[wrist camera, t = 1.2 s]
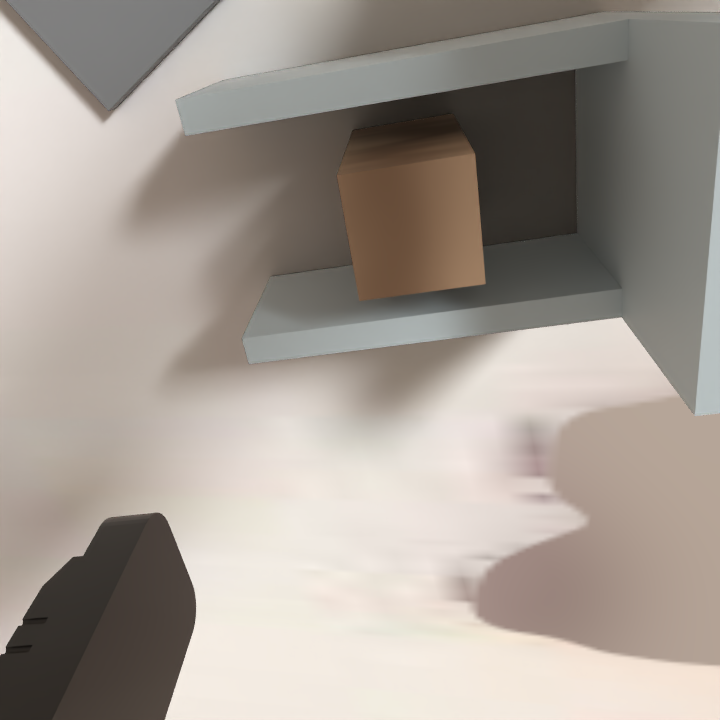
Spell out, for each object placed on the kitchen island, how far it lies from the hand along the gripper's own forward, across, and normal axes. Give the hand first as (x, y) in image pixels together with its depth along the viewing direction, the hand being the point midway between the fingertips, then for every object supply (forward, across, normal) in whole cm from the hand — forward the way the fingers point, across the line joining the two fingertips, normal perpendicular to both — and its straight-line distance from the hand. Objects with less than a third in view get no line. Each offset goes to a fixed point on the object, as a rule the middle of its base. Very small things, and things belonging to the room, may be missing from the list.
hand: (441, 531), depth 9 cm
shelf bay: (+23, 0, 0) cm, 23 cm away
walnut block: (+24, 0, 0) cm, 24 cm away
